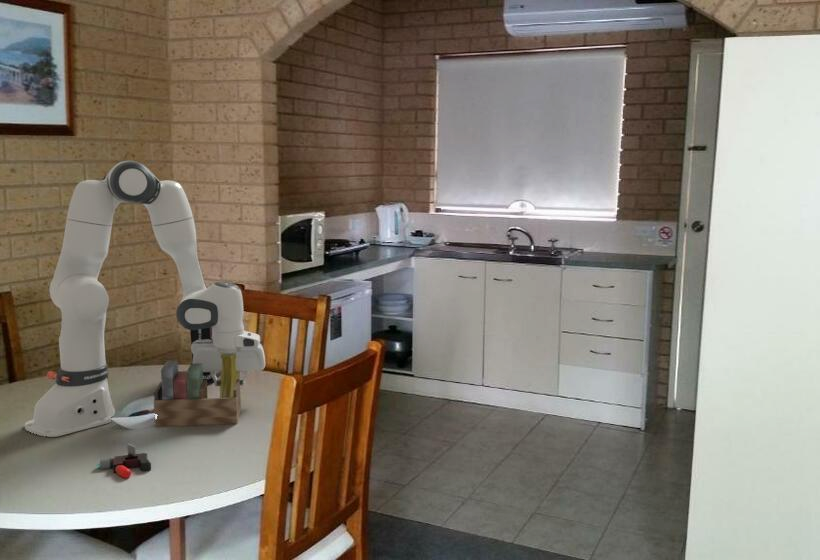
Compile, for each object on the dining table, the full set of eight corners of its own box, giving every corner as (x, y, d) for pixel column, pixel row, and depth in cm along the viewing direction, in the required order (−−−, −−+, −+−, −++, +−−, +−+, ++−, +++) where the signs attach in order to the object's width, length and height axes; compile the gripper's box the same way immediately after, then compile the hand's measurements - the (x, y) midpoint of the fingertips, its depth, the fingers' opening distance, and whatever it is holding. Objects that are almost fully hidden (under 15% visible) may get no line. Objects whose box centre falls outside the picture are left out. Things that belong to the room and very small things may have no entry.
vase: (218, 399, 220) (216, 351, 217) (239, 396, 222) (237, 349, 220) (222, 405, 214) (220, 356, 212) (243, 402, 217) (242, 354, 214)
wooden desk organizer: (240, 409, 211) (239, 357, 209) (237, 423, 201) (235, 369, 198) (163, 412, 209) (160, 359, 206) (155, 426, 198) (152, 371, 195)
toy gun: (95, 467, 174) (94, 447, 173) (150, 460, 178) (149, 441, 177) (93, 484, 165) (92, 463, 164) (151, 477, 169) (150, 456, 168)
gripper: (189, 342, 211) (191, 390, 213) (263, 340, 213) (265, 387, 216) (192, 336, 217) (194, 383, 219) (265, 335, 219) (266, 381, 222)
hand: (230, 385), depth 218 cm, fingers closed on vase, 5 cm apart
